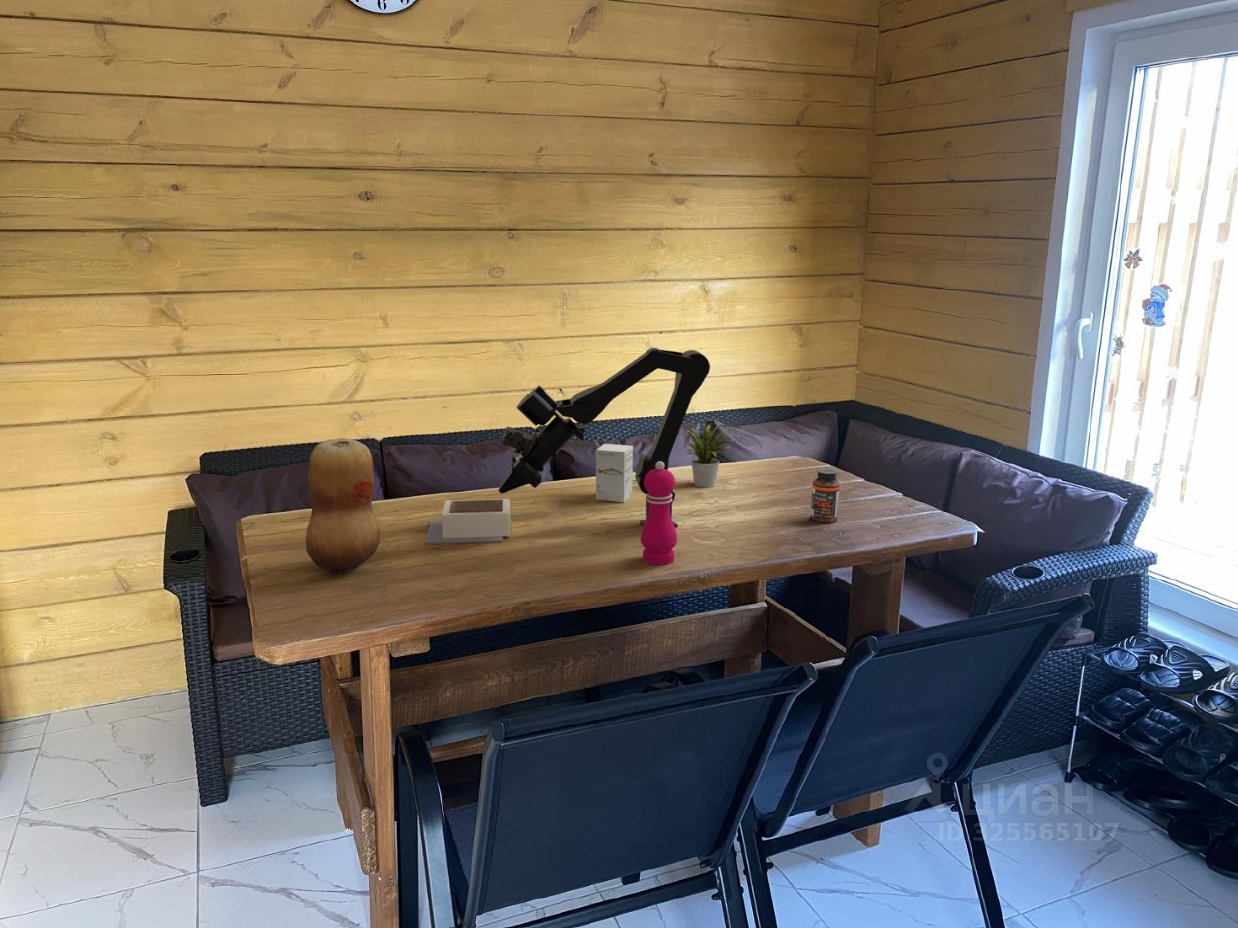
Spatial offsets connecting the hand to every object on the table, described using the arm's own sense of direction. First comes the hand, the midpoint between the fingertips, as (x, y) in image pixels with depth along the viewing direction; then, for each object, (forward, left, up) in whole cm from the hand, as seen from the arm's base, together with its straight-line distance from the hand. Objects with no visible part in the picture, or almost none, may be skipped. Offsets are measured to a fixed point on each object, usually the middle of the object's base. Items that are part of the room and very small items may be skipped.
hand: (500, 492), depth 205 cm
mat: (+2, +7, -9) cm, 11 cm away
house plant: (+14, -58, -9) cm, 60 cm away
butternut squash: (-11, +34, -9) cm, 37 cm away
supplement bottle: (-22, -69, -9) cm, 73 cm away
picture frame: (-1, -2, -6) cm, 6 cm away
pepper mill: (-31, -23, -9) cm, 39 cm away
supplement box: (+13, -33, -9) cm, 36 cm away
